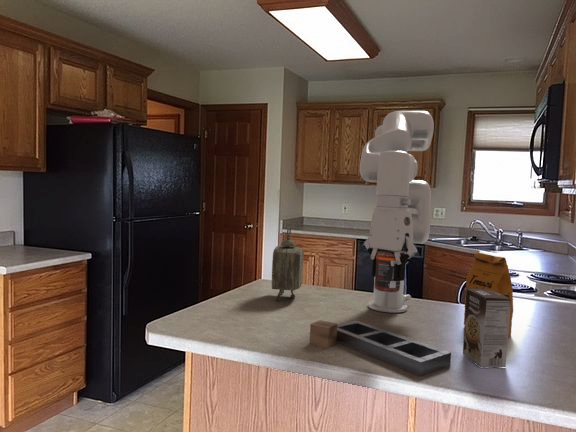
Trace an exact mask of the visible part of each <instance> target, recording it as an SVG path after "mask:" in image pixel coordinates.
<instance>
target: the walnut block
mask: <svg viewBox="0 0 576 432" xmlns="http://www.w3.org/2000/svg"><path fill="white" fill-rule="evenodd" d="M338 324H339V323H337V322H332V321H327V320H322V319H319V320H317V321H314V322H312V323H310V324H309V325H310V327H309V328H310V329H309V344H310V345H314V346H317V347H322V348H326V349H328V348H330V347H332V346H333V345H335V344H337V343H338V342H337V325H338Z"/></svg>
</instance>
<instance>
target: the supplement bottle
mask: <svg viewBox="0 0 576 432" xmlns="http://www.w3.org/2000/svg"><path fill="white" fill-rule="evenodd" d="M400 256H401V254H400ZM395 264H397V263H396V259H395V255H394V252H391V251H387V250H384V249H382V250H381V251H379V252H378V253H377V255H376V271H375V289H377V290H379V291H384V292H397V291H399V289H400V281H394V280H393V278H394V265H395Z"/></svg>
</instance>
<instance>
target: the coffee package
mask: <svg viewBox="0 0 576 432" xmlns="http://www.w3.org/2000/svg"><path fill="white" fill-rule="evenodd" d="M473 257H474V258H475V260H474V262H473V264H472V266H471V268H470V270H469V272H468V274H467V276H466V278H465V295H464V298H465V300H464V310H465V309H466V293H467V290H466V289H484V290H493V291H495V292H497V293H499V294H502V295H504V296H506V297H508V298H511V308H510V320H509V332H508V338H509V337H512V327H513V326H512V324H513V316H514V297H513V296H514V295H513V293H514V291H513V290H514V289H513V282H512V279H511V274H510V269H509V266H508V263H507V262H508V261H507V259H506V257H503V256H496V255H492V254H487V253H483V252H479V251H477V252H475V253H474V256H473ZM463 316H464V318H463V319H464V320H463V325H464V326H465V311H464V313H463Z"/></svg>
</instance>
